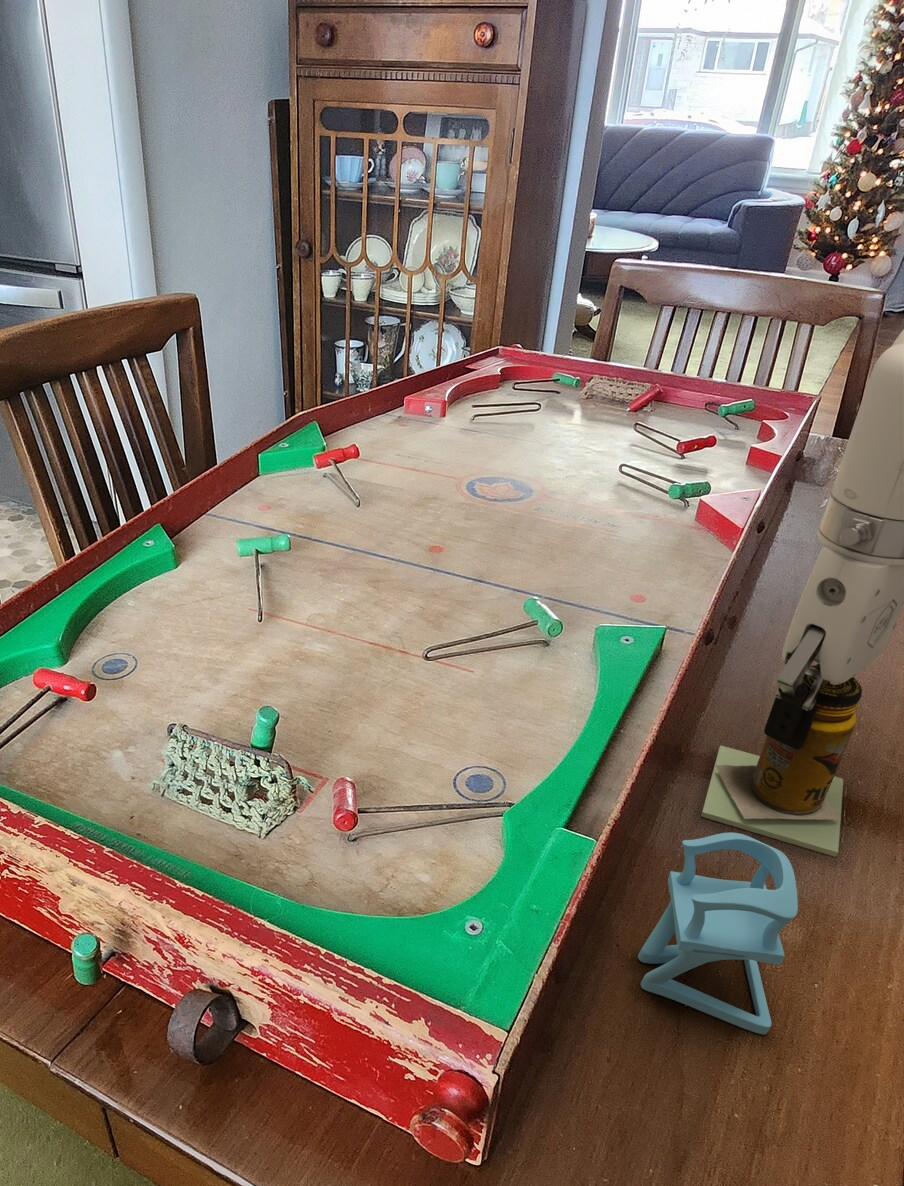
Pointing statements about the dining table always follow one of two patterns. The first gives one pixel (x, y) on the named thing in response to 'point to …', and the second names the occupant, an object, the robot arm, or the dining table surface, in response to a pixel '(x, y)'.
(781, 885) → the chair
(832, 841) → the mat
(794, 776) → the condiment
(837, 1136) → the dining table surface
